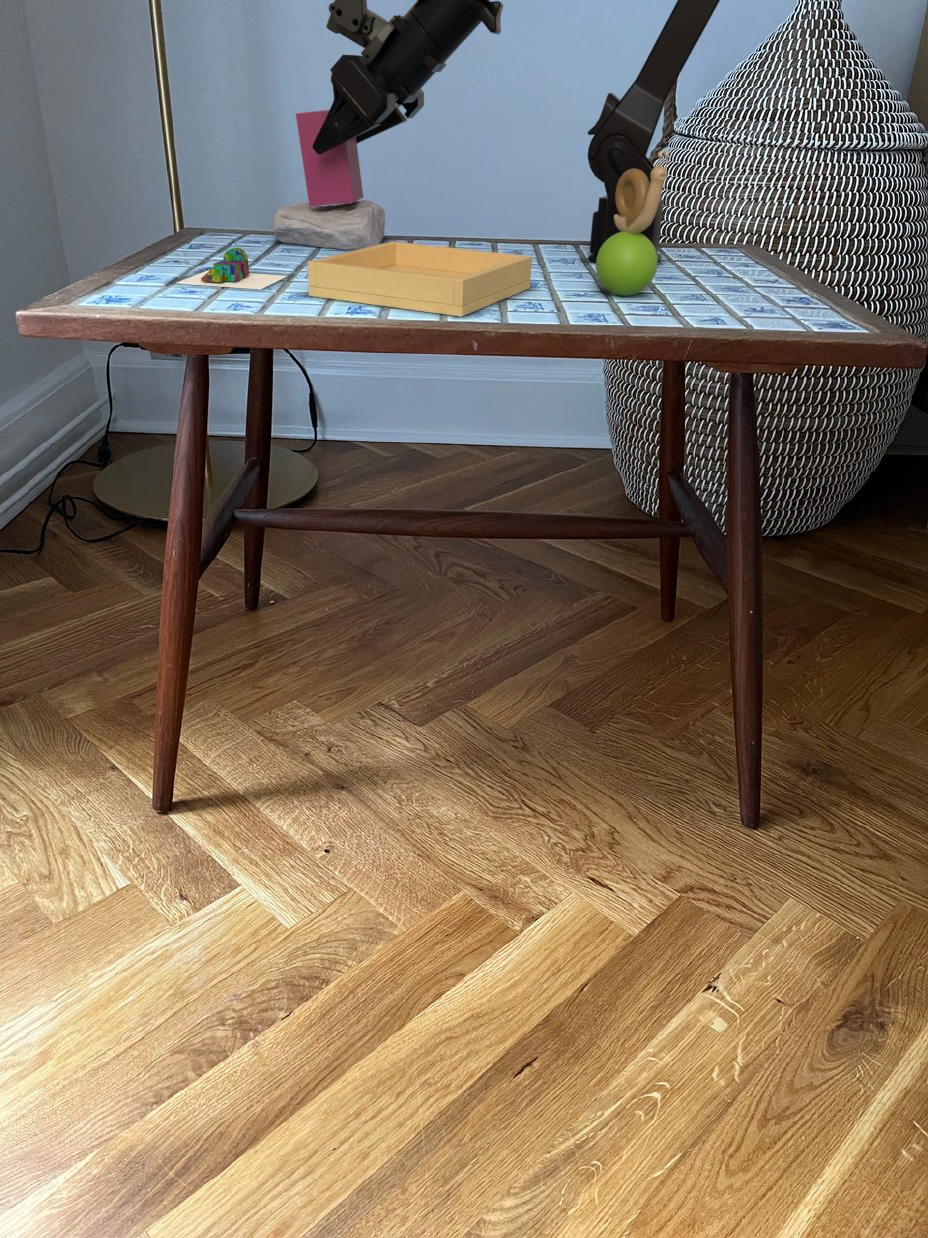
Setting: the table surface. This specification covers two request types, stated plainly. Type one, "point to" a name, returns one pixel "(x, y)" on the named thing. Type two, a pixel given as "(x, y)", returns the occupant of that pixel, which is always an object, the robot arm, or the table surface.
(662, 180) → the snail figurine
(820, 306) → the table surface
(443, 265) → the birch tray
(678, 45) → the robot arm
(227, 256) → the patchwork stepped arch
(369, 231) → the stone block
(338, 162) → the mulberry block
